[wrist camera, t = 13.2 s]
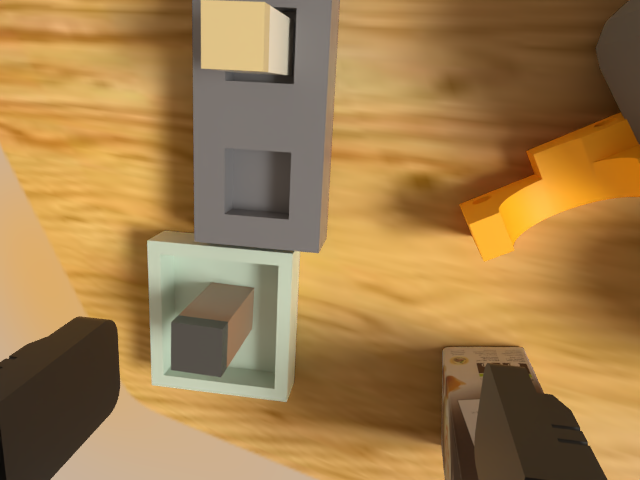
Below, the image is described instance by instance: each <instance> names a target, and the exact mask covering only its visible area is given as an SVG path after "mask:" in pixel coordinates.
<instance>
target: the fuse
mask: <svg viewBox="0 0 640 480" xmlns="http://www.w3.org/2000/svg"><path fill="white" fill-rule="evenodd" d="M293 27H294V21H293V20H292V19H290V18H289V17H287V16H286V15H284V14H282V13H281V12H279V11H278V10H276V9H275V8H273V7H272V6H270V5H269V4H267V3H266V2H250V1H220V0H201V69H210V70H218V71H227V72H235V73H246V74H266V75H286V76H292V55H293Z"/></svg>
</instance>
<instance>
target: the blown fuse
mask: <svg viewBox="0 0 640 480" xmlns="http://www.w3.org/2000/svg"><path fill="white" fill-rule="evenodd" d="M253 307H254V287H246V286H238V285H230V284H222V283H214V282H211V283H210V284H209V285H208V286H207V287H206V288H205V289H204V290H203V291H202V292H201V293H200V294H199V295H198V296H197V297H196V298H195V299H194V300H193V301H192V302H191V303H190V304H189V305H188V306H187V307H186V308H185V309H184V310H183V311H182V312H181V313H180V314H179V315H178V316H177V317H176V318H175V319H174V320H173V321H172V322H171V370H174V371H181V372H188V373H194V374H201V375H208V376H215V377H222V375H223V374H224V372H225V370H226V369H227V367H228V366H229V364H230V363H231V361H232V360H233V358H234V356H235V355H236V353H237V352H238V350H239V349H240V347H241V346H242V344H243V342H244V341H245V339H246V338H247V336H248V335H249V333H250V331H251V330H252V327H253Z"/></svg>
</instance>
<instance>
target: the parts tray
mask: <svg viewBox="0 0 640 480" xmlns="http://www.w3.org/2000/svg"><path fill="white" fill-rule="evenodd" d="M147 252H148V282H149V313H150V344H151V375H152V385H155V386H163V387H171V388H179V389H187V390H195V391H203V392H211V393H219V394H227V395H235V396H243V397H251V398H259V399H267V400H275V401H282V402H287V400H288V398H289V395H290V392H291V390H292V387H293V384H294V379H295V356H296V333H297V309H298V286H299V263H300V251H290V250H279V249H268V248H257V247H246V246H235V245H224V244H213V243H202V242H194V233H187V232H175V231H163V232H161V233H159V234H157V235H156V236H154V237H152V238H151V239H149V240H147ZM211 282H214V283H222V284H230V285H238V286H246V287H254V307H253V327H252V330H251V331H250V333H249V335H248V336H247V338H246V339H245V341H244V342H243V344H242V346H241V347H240V349H239V350H238V352H237V353H236V355H235V356H234V358H233V360H232V361H231V363H230V364H229V366H228V367H227V369H226V370H225V372H224V374H223V375H222V377H215V376H208V375H201V374H194V373H188V372H181V371H174V370H171V322H172V321H173V320H174V319H175V318H176V317H177V316H178V315H179V314H180V313H181V312H182V311H183V310H184V309H185V308H186V307H187V306H188V305H189V304H190V303H191V302H192V301H193V300H194V299H195V298H196V297H197V296H198V295H199V294H200V293H201V292H202V291H203V290H204V289H205V288H206V287H207V286H208V285H209V284H210V283H211Z"/></svg>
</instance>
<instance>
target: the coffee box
mask: <svg viewBox="0 0 640 480" xmlns="http://www.w3.org/2000/svg"><path fill="white" fill-rule="evenodd" d="M487 363H493V364H502V365H511V366H520V367H525V368H526V369H527V371H528V374H529V376H530V378H531V380H532V383H533V385H534V387H535V389H536V392H537V393H542V394H544V393H543V390H542V388H541V386H540V384H539V382H538V379H537V377H536V374H535V372H534V370H533V368H532V366H531V364H530V362H529V359H528V357H527V355H526V353H525V350H524V349H523V348H522V347H445V348H444V349H443V351H442V435H441V445H442V456H443V467H444V475H445V480H478V474H477V469H476V464H475V454H474V441H475V429H476V422H477V415H478V408H479V401H480V394H481V387H482V380H483V374H484V369H485V366H486V364H487Z"/></svg>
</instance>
